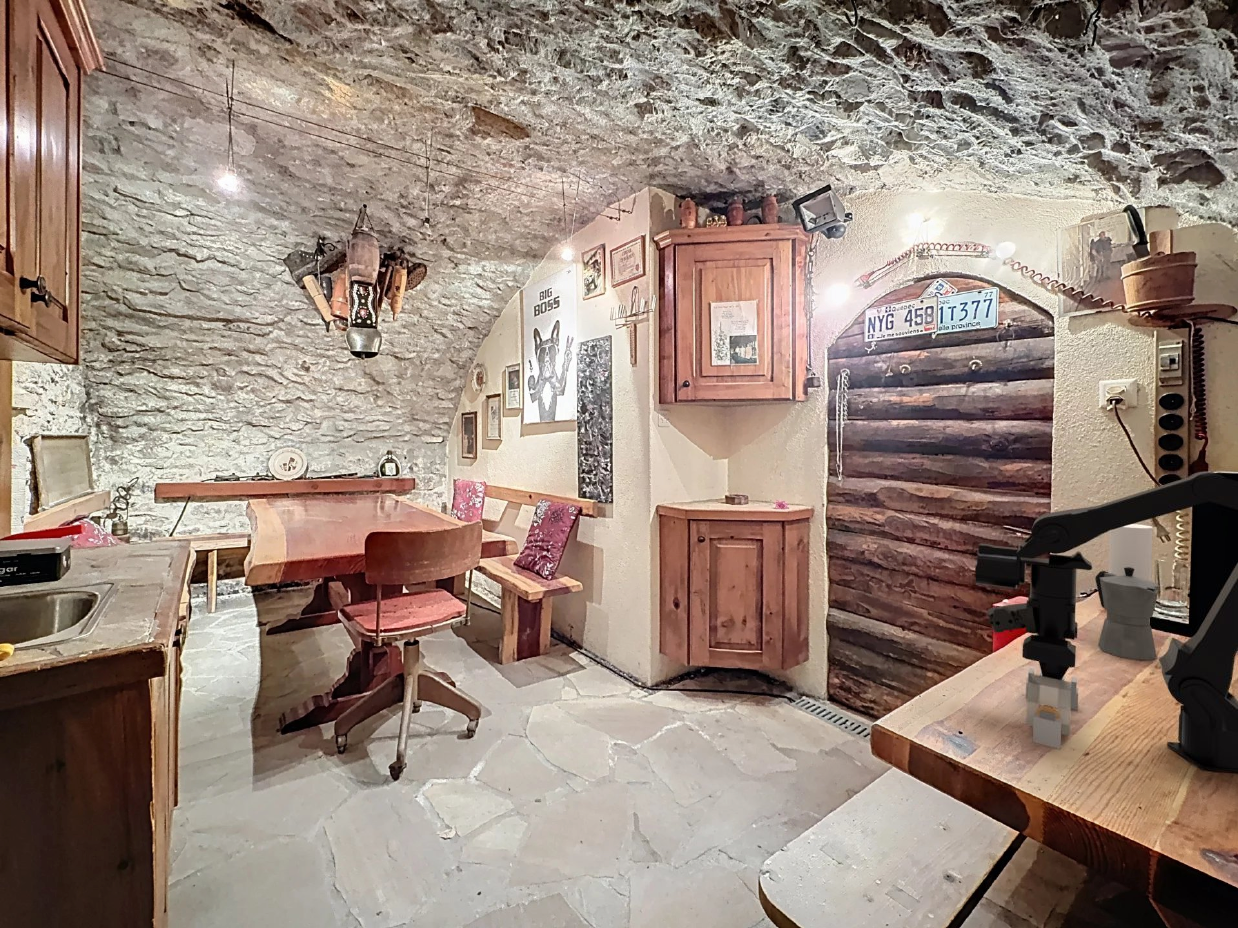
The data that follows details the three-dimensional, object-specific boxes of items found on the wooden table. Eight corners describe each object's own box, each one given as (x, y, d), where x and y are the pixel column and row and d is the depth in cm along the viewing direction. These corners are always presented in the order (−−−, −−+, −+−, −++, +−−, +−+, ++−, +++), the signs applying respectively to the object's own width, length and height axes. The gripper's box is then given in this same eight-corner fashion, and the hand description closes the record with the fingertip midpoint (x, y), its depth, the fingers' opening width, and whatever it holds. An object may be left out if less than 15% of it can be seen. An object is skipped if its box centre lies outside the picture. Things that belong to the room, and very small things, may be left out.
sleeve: (1028, 714, 91) (1029, 673, 91) (1070, 724, 88) (1071, 682, 87) (1026, 724, 88) (1027, 681, 88) (1069, 735, 85) (1070, 691, 84)
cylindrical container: (1100, 632, 132) (1103, 524, 130) (1117, 627, 135) (1120, 522, 133) (1138, 641, 125) (1142, 529, 124) (1155, 636, 128) (1159, 526, 127)
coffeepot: (1178, 665, 112) (1182, 575, 111) (1127, 664, 113) (1130, 574, 112) (1118, 638, 128) (1120, 558, 127) (1073, 637, 128) (1075, 558, 128)
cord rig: (1027, 693, 100) (1027, 666, 100) (1077, 704, 96) (1078, 676, 96) (1017, 737, 86) (1018, 705, 86) (1077, 753, 81) (1077, 720, 81)
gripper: (998, 574, 102) (997, 660, 103) (983, 597, 88) (981, 697, 88) (1078, 584, 95) (1076, 676, 96) (1076, 611, 81) (1073, 719, 81)
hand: (1050, 690), depth 90 cm, fingers closed
